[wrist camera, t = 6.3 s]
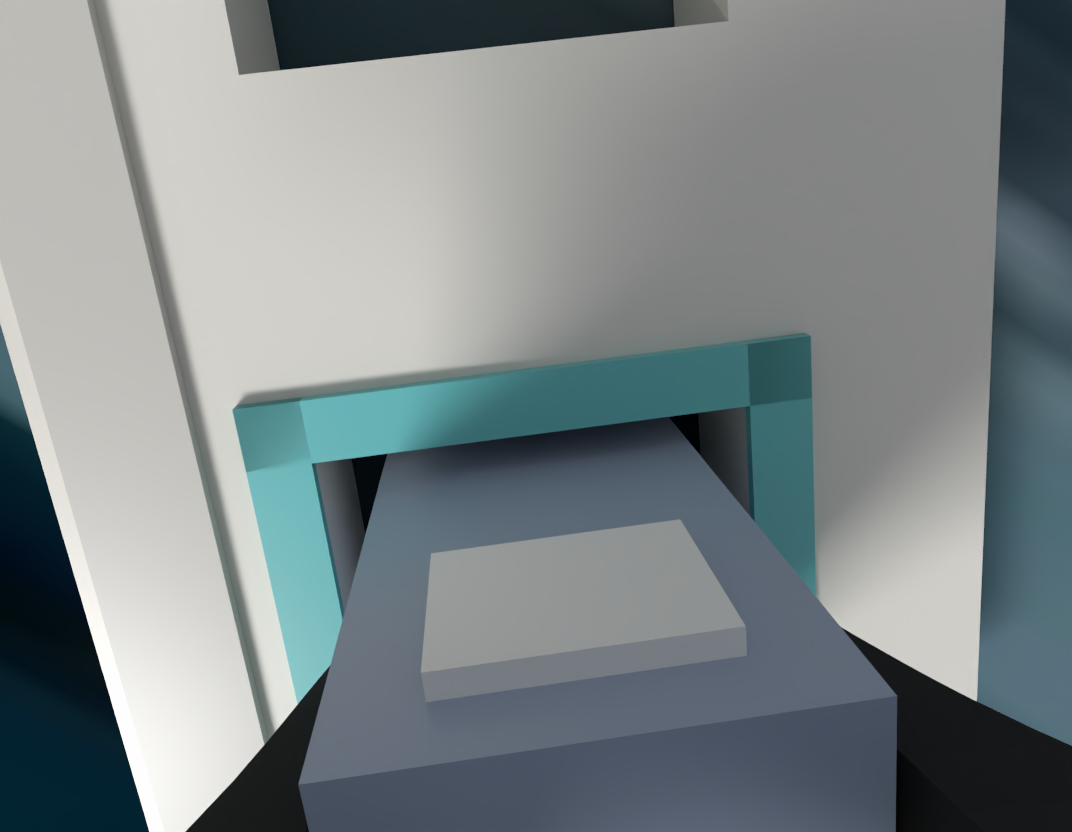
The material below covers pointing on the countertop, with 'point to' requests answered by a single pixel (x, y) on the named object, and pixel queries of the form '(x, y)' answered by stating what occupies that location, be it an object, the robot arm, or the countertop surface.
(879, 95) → the panel
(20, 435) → the countertop surface
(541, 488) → the plug
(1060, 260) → the countertop surface
